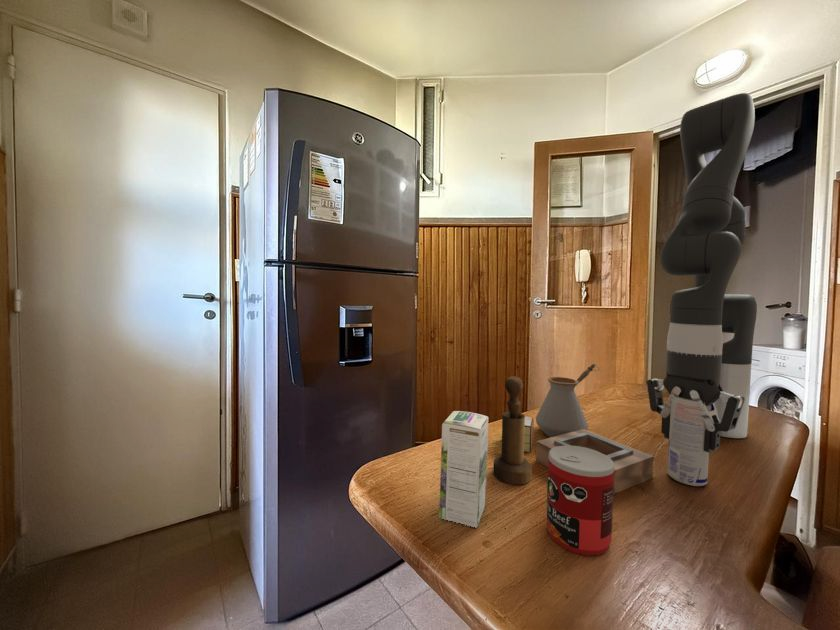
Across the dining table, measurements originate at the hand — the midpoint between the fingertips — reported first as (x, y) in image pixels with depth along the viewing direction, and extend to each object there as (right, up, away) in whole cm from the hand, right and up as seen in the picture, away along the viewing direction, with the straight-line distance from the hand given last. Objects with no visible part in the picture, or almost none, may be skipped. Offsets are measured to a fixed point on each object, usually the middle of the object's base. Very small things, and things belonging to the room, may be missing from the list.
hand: (688, 443), depth 60 cm
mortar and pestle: (-31, -6, +1) cm, 32 cm away
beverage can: (0, -7, 0) cm, 7 cm away
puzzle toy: (-26, -6, +14) cm, 30 cm away
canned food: (-26, -7, -14) cm, 31 cm away
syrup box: (-41, -7, -10) cm, 43 cm away
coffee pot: (-10, -5, +23) cm, 26 cm away
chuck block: (-15, -6, +4) cm, 17 cm away
